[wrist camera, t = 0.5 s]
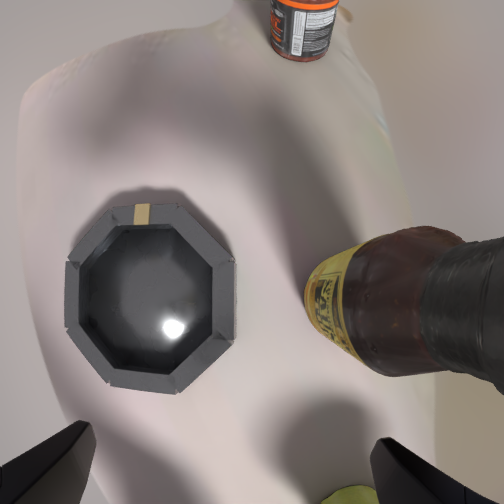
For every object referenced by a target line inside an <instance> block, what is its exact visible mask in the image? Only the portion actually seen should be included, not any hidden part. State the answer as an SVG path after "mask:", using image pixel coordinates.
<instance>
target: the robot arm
mask: <svg viewBox="0 0 504 504" xmlns="http://www.w3.org/2000/svg"><path fill="white" fill-rule="evenodd" d="M95 448H96V438H95V435H94V432H93V428H92V425H91V424H90V423H89V422H85V421H81V420H78V421H76V422H74V423H73V424H71V425H69V426H68V427H66V428H65V429H63V430H61V431H60V432H58V433H56V434H55V435H53V436H52V437H50V438H48V439H47V440H45V441H43V442H42V443H40V444H38V445H37V446H35V447H33V448H32V449H30V450H29V451H26V452H25V453H23V454H21V455H20V456H18V457H16V458H14V459H13V460H11V461H9V462H8V463H6V464H4V465H2V467H0V504H79V503H80V501H81V498H82V495H83V492H84V490H85V487H86V484H87V481H88V476H89V472H90V468H91V464H92V460H93V456H94V452H95ZM370 463H371V468H372V473H373V478H374V484H375V489H376V494H377V498H378V501H379V504H499V503H496V502H494V501H492V500H490V499H488V498H486V497H483V496H481V495H479V494H478V493H476V492H474V491H473V490H471V489H469V488H468V487H466V486H464V485H462V484H461V483H459V482H458V481H456V480H454V479H453V478H451V477H450V476H448V475H446V474H445V473H443V472H442V471H440V470H439V469H437V468H436V467H434V466H432V465H431V464H429V463H428V462H426V461H425V460H423V459H422V458H420V457H419V456H417V455H416V454H414V453H413V452H411V451H410V450H409V449H407V448H406V447H404V446H403V445H401V444H400V443H398V442H397V441H395V440H394V439H393V438H391V437H386V438H380V439H379V440H377V442H376V444H375V446H374V448H373V450H372V452H371V455H370Z"/></svg>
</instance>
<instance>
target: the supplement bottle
mask: <svg viewBox="0 0 504 504" xmlns="http://www.w3.org/2000/svg"><path fill="white" fill-rule="evenodd" d="M338 3H339V0H271V43H272V46H273V48H274V49H275V51H276V52H277V53H278V54H280V55H281V56H283V57H284V58H287V59H290V60H293V61H298V62H309V61H314V60H317V59H319V58H321V57H323V56H324V55H325V53H326V52H327V50H328V47H329V44H330V39H331V35H332V30H333V26H334V21H335V17H336V12H337V7H338Z"/></svg>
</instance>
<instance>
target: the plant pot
mask: <svg viewBox="0 0 504 504" xmlns="http://www.w3.org/2000/svg"><path fill="white" fill-rule="evenodd" d="M320 504H379V501H378V498H377V494H376V491H375V490H374V489H372V488H370V487H368V486H363V485H356V486H349V487H345V488H342V489H340V490H337V491H336V492H335V493H333V494H332V495H331V496H330V497H328V498H327V499H325V500H323V501H322V502H321V503H320Z"/></svg>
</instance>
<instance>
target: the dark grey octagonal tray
mask: <svg viewBox="0 0 504 504" xmlns="http://www.w3.org/2000/svg"><path fill="white" fill-rule="evenodd" d="M68 259H69V260H70V261H66V268H65V298H64V317H65V327H67V328H69V329H68V330H67V331H66V332H67V333H68V335H69V336H70V338H71V339H72V340H73V342H74V343H75V344H76V346H77V347H78V349H79V350H80V351H81V352H82V354H83V355H84V356H85V358H86V359H87V360H88V362H89V363H90V364H91V365H92V367H93V368H94V369H95V370H96V371H97V373H98V374H99V375H100V376H101V378H102V379H103V380H104V381H105V382H106V383H109V382H110V386H113V387H120V388H126V389H133V390H140V391H147V392H155V393H164V394H174V395H176V394H177V393H178V392H179V393H181V392H182V391H183V390H184V389H185V388H186V387H187V386H189V385H190V384H191V383H192V382H193V381H194V380H195V379H196V378H197V377H198V376H199V375H201V374H202V373H203V372H204V371H205V370H206V369H207V368H208V367H209V366H210V365H211V364H212V363H213V362H215V361H216V360H217V359H218V358H219V357H220V356H221V355H222V354H223V353H224V352H225V351H226V350H227V349H228V348H229V347H230V346H231V345H232V344H233V343H234V341H233V340H235V338H236V305H237V297H236V263H235V262H233V261H234V258H233V257H232V256H231V255H230V254H229V253H228V252H227V251H226V250H225V249H224V248H223V247H222V246H221V245H220V244H219V243H218V242H217V241H216V240H215V239H214V238H213V237H212V236H211V235H210V234H209V233H208V232H207V231H206V230H205V229H204V228H203V227H202V226H201V225H200V224H199V223H198V222H197V221H196V220H195V219H194V218H193V217H192V216H191V215H190V214H189V213H188V212H187V211H186V210H185V209H184V208H183V207H182V206H179V205H178V204H157V205H151V204H150V203H149V204H135V206H122V207H113V210H112V211H111V210H110V209H109V210H108V211H107V212H106V213H105V214H104V215H103V216H102V217H101V218H100V220H99V221H98V222H97V223H96V224H95V225H94V226H93V227H92V229H91V230H90V231H89V232H88V233H87V234H86V235H85V237H84V238H83V239H82V240H81V241H80V243H79V244H78V245H77V246H76V247H75V249H74V250H73V251H72V252H71V253H70V255H69V256H68Z"/></svg>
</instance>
